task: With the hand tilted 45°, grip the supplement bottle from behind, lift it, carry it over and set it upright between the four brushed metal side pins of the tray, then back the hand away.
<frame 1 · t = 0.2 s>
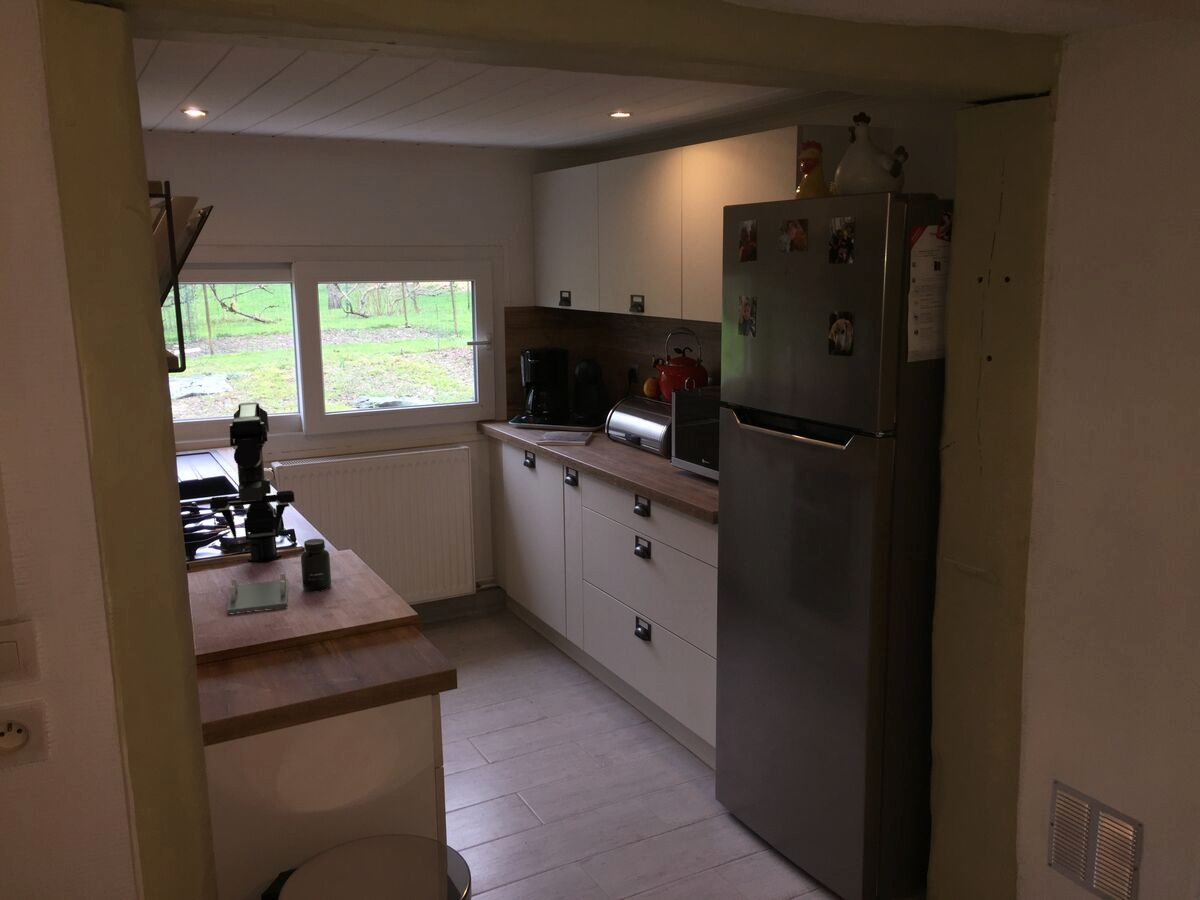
hand: (256, 536, 229), 16 cm above the worktop, tool tilted 15°, fingers open, 9 cm apart
supplement bottle: (317, 588, 239), on the worktop
pin tray: (259, 598, 232), on the worktop
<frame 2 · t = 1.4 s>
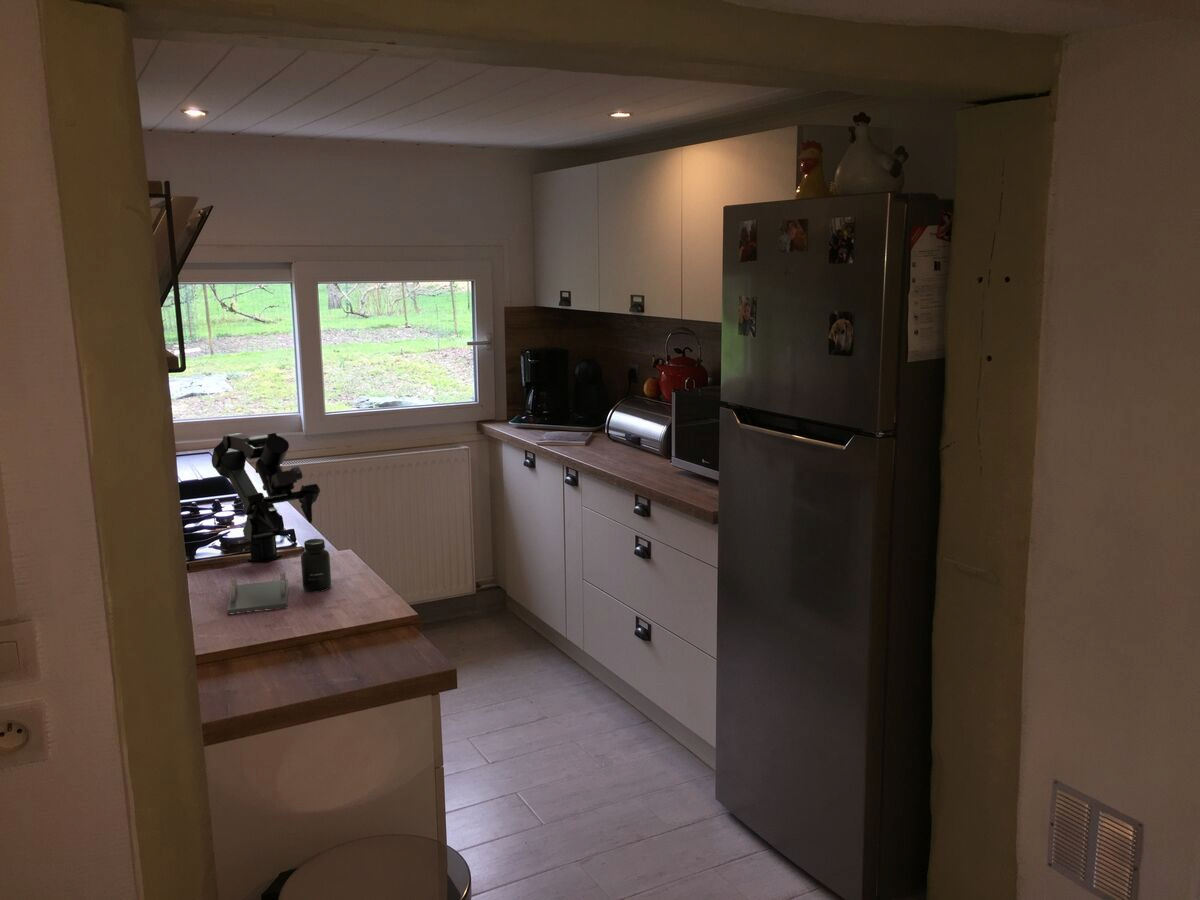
hand: (293, 525, 245), 14 cm above the worktop, tool tilted 45°, fingers open, 9 cm apart
nothing on the worktop moved.
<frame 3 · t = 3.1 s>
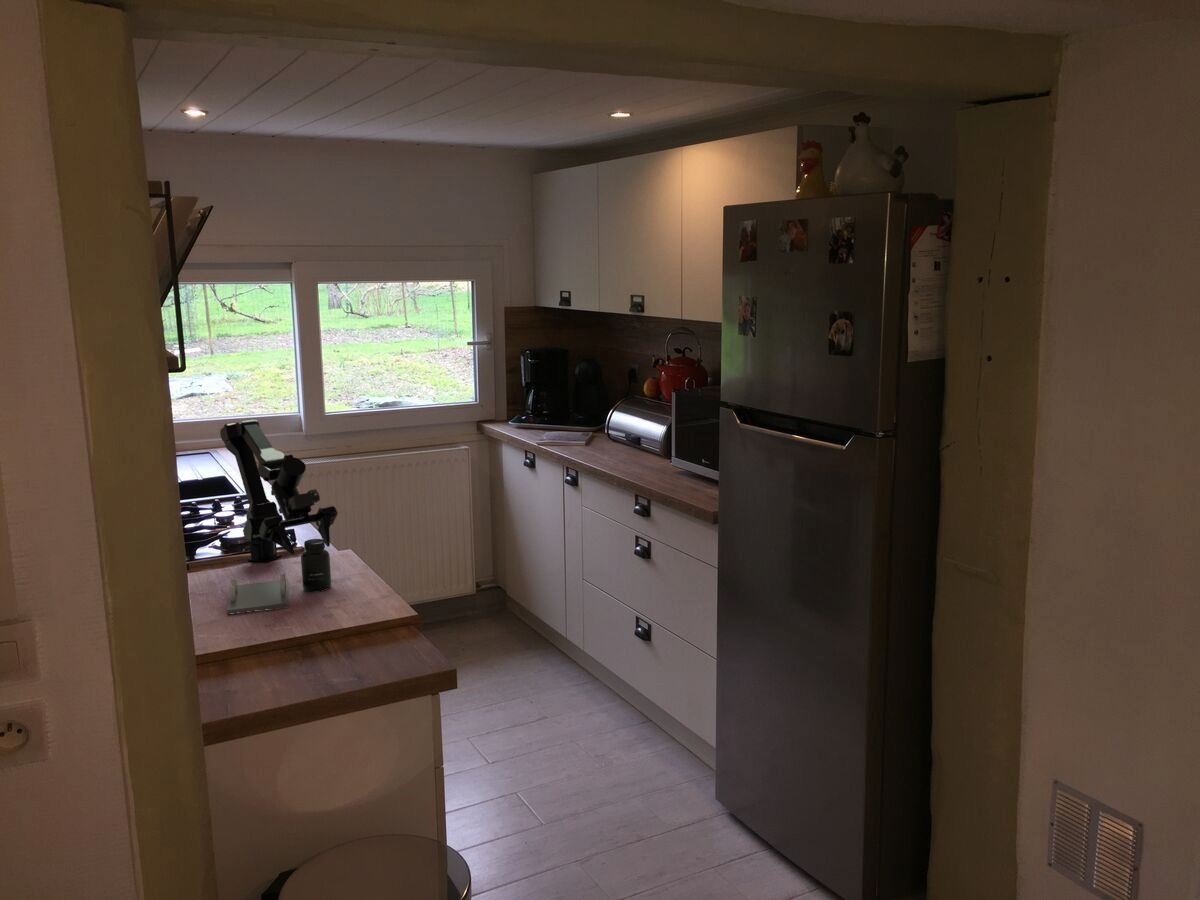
hand: (311, 549, 238), 9 cm above the worktop, tool tilted 45°, fingers open, 9 cm apart
nothing on the worktop moved.
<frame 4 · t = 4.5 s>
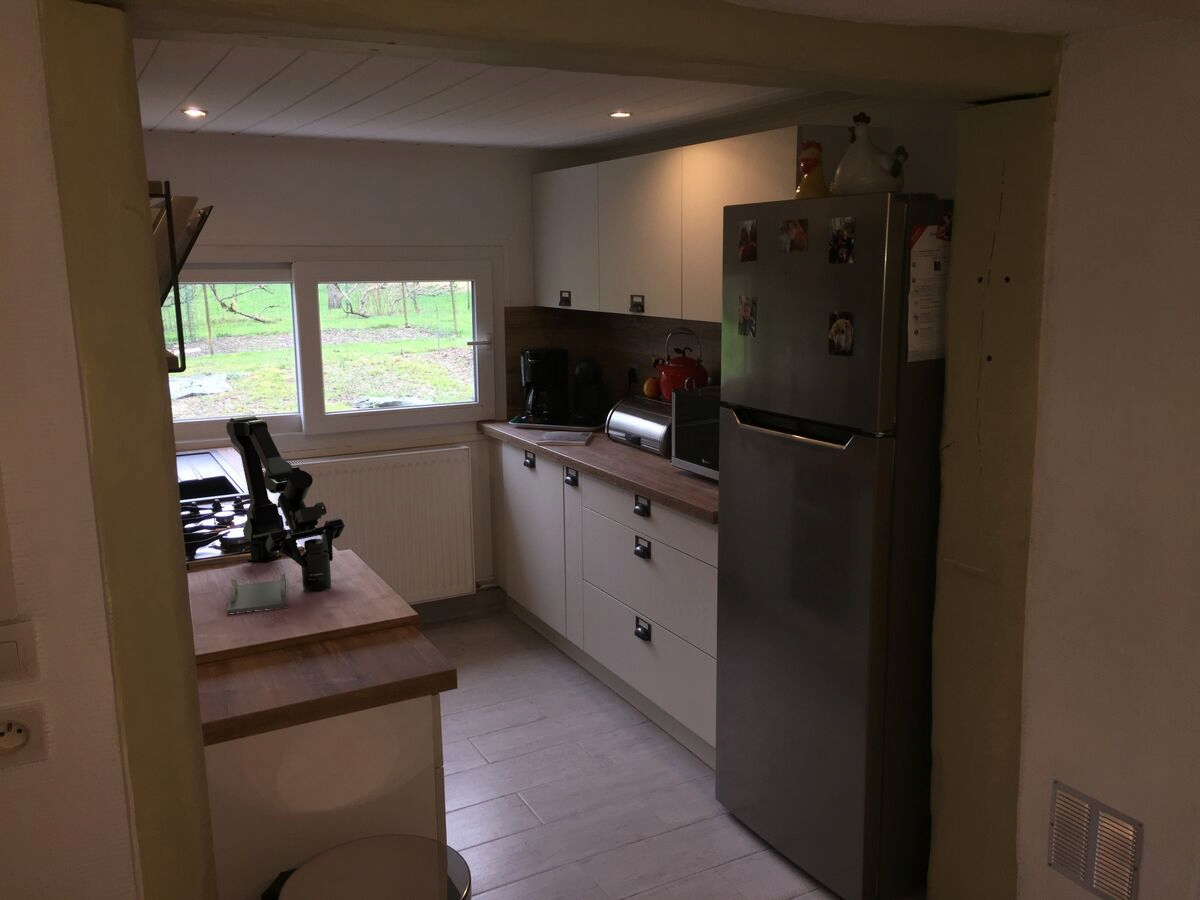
hand: (318, 563, 237), 7 cm above the worktop, tool tilted 45°, fingers closed on supplement bottle, 7 cm apart
supplement bottle: (317, 588, 239), on the worktop, touching gripper
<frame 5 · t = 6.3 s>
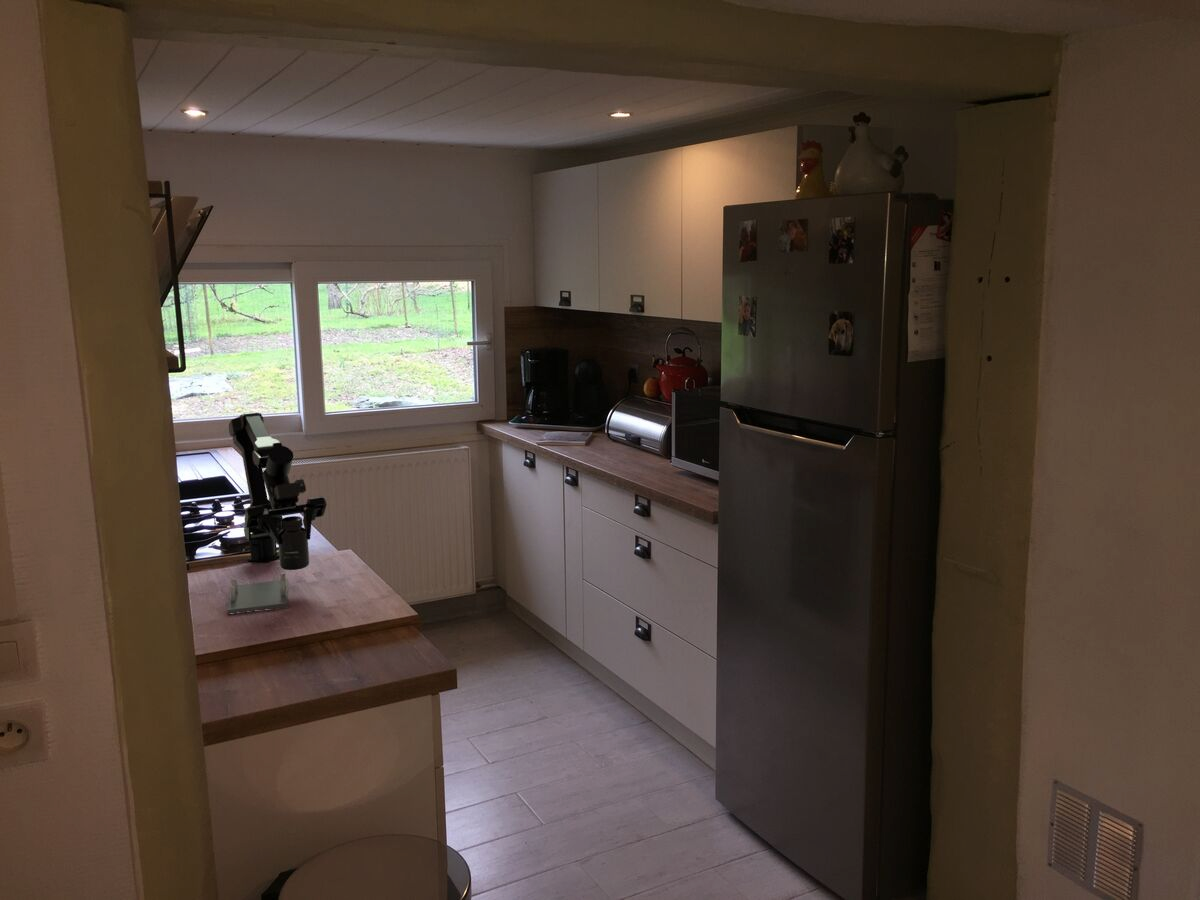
hand: (294, 541, 232), 13 cm above the worktop, tool tilted 45°, fingers closed on supplement bottle, 7 cm apart
supplement bottle: (295, 567, 235), point 6 cm above the worktop, touching gripper
when the fingers open (8 cm above the worktop, at t = 8.4 s): supplement bottle stays where it is, resting on pin tray.
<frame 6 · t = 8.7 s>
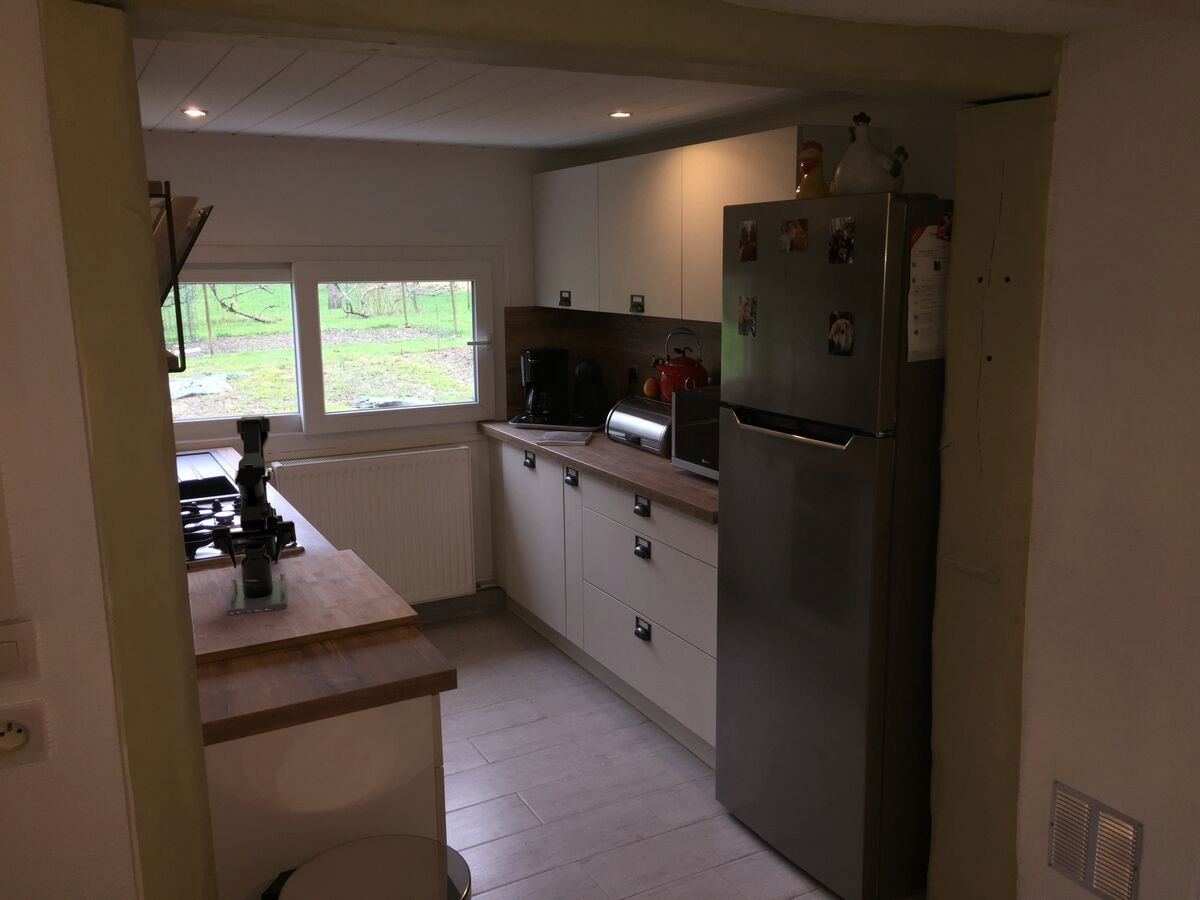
hand: (255, 565, 229), 9 cm above the worktop, tool tilted 45°, fingers open, 9 cm apart
supplement bottle: (258, 594, 232), point 1 cm above the worktop, touching pin tray
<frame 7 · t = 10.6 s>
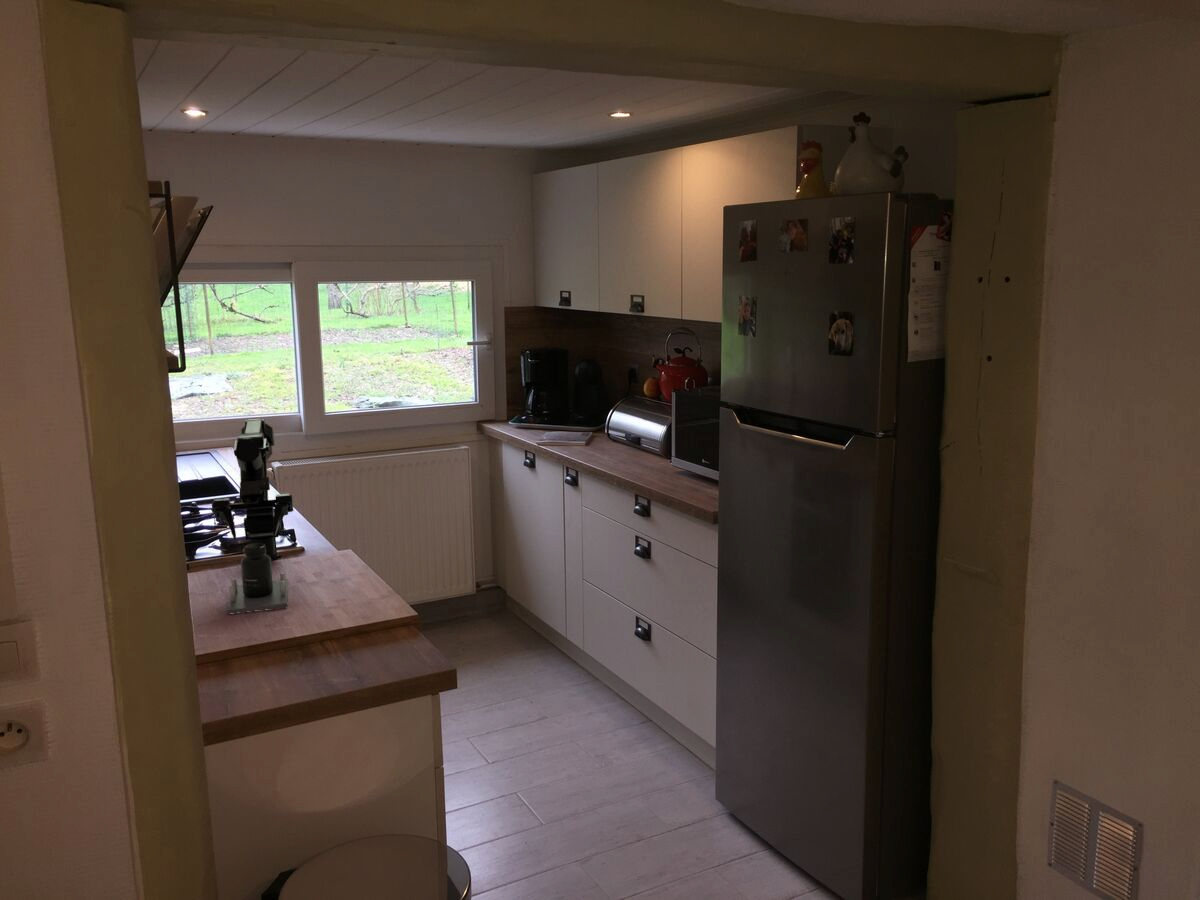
hand: (254, 537, 238), 13 cm above the worktop, tool tilted 40°, fingers open, 9 cm apart
nothing on the worktop moved.
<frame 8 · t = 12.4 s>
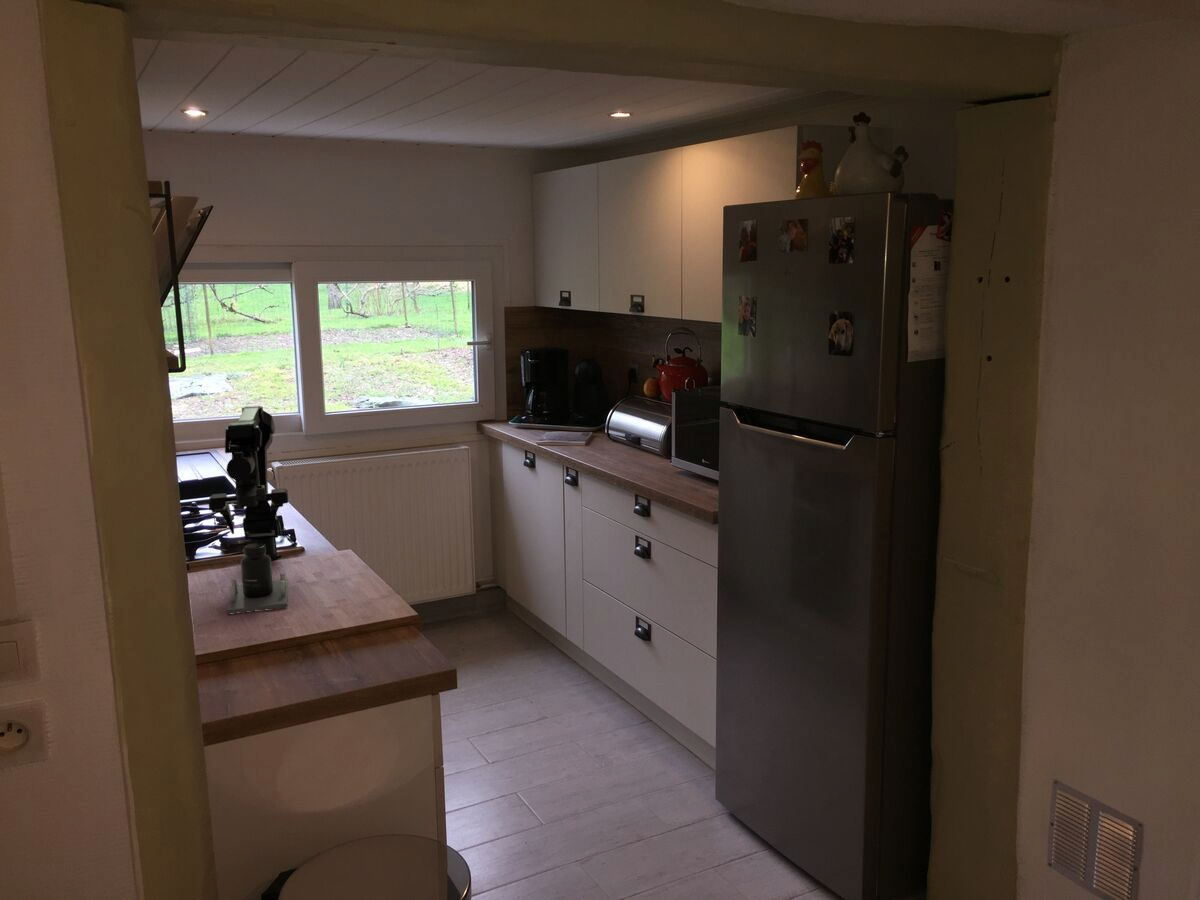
hand: (252, 531, 246), 12 cm above the worktop, tool pointing down, fingers open, 9 cm apart
nothing on the worktop moved.
at the end: supplement bottle 0.1 cm off-centre on the pin tray, point 1.0 cm above the pin tray's base; supplement bottle tilted 0°; the gripper is holding nothing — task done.
